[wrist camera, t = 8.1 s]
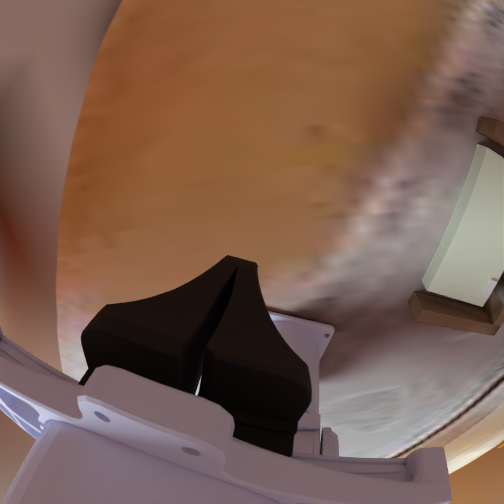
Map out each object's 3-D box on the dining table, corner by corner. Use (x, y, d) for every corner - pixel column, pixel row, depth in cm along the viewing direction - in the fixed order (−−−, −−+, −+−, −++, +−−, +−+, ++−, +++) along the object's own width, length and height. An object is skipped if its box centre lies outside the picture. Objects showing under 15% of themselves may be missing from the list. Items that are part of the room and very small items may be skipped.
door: (474, 294, 22) (483, 308, 20) (419, 277, 22) (427, 292, 20) (526, 177, 16) (541, 185, 14) (473, 143, 16) (489, 147, 14)
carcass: (484, 319, 22) (495, 339, 19) (408, 302, 23) (417, 325, 20) (551, 168, 14) (572, 178, 12) (479, 116, 15) (501, 120, 12)
